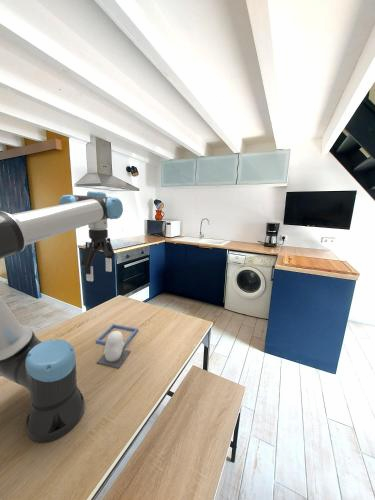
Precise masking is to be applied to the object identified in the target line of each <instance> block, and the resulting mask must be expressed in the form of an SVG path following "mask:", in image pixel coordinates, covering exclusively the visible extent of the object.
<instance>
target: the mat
mask: <svg viewBox="0 0 375 500" xmlns="http://www.w3.org/2000/svg"><path fill="white" fill-rule="evenodd" d="M130 353H131V350H127V349H122V353H121V356H120V358H119V359H118V360H116V361H112V362H110V361H107V360H106V358H105V352H104V354H103V355H102V356H101V357H100V358H99V359H98V360H97V361H96V364H98V365H101V366H105V367H111V368H115V369H120V368H121V366H122V364H123V363H124V362H125V361H126V359H127V358H128V356H129V355H130Z"/></svg>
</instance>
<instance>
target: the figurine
mask: <svg viewBox="0 0 375 500" xmlns="http://www.w3.org/2000/svg"><path fill="white" fill-rule="evenodd" d="M123 340H124V335H123V332H122V331H119V330H113V331H112V332H111V333H109V334H108V336H107V338H106V340H105V341H106V345H104V353H105V358H106V360H107V361H110V362H112V361H116V360H118V359H119V358H120V356H121V353H122V349H123V347H124V343H125V342H124V341H123Z"/></svg>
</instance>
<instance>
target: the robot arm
mask: <svg viewBox="0 0 375 500" xmlns="http://www.w3.org/2000/svg"><path fill="white" fill-rule="evenodd" d="M123 212H124V208H123V202H122V201H121V200H120V198H119V197H113V196H107V194H106V192H103V191H93V190H92V191H87V192H86V195H80V194H79V195H77V194H64V195H61V197H60V198H59V201H58V204H57V205H52V206H47V207H43V208H37V209H32V210H26V211H22V212H16V213H12V214H11V213H8V212H7V211H0V260H2V259H4V258H8V257H10V256H12V255H13V256H14V255H16V254H18V253H21V252H23V251H24V250H25V248H26V246H29V245H31V244H34V243H36V242H40V241H43V240H46V239H50V238H52V237H56V236H58V235H61V234H64V233H66V232H70V231H72V230H73V231H74V230H76V229H79V228H83V227H86V226H88V238H89V239H90V241H86V242H85V248H84V252H83V255H82V260H81V263H80V265H81V267H84V268H85V277H86V278H85V279H86V281H88V282H94V267H93V262H94V260H95V257H96V256H97V253H99V251H102V252H103V254H104V255H105V272H109V273H111V272H112V270H113V269H112V265H113V263H112V260H113V259H114V257H115V252H114V249H113V246H112V243H111V238H110V237H109V233H108V219H109V220H117V219H119V218H121V216H122V215H123ZM76 358H77V356H76V354H75V349H74V346H73V345H72V343H70V342H69V341H67V340H64V339H59V338H58V339H57V338H56V339H54V340H53V339H47V340H44V341H41V340H40V339H39V338H38V337H37V336H36V334H35V332H34V331H33V330H32V328H31V327H30V326H27V325H22V324H21V323H20V322H19V320H18V319H17V318H16V316H15V314H14V313H13V312H12V311H11V309H10V307H9V306H8V304H7V303H6V302H5V300H4V299H3V297H2V296H1V295H0V377H3V378H4V379H7V380H8V381H11V382H13V383H16V384H18V385H20V386H22V387H24V388H25V389H27V390H28V392H29V396H30V402H31V404H30V408H29V412H28V415H27V418H26V423H25V427H26V428H25V429H26V432H27V436H28V438H29V439H30V440H32V441H33V442H36V443H47V442H52V441H54V440H58V439H60V438H61V437H63V436H65V435H66V434H67V433H69V432H70V431H71V430H73V428H74V427H75V426H76V425H77V424H78V423H79V422H80V420H81V419H82V417H83V414H84V412H85V398H84V395H83V393H82V391H81V390H80V389H79V387H78V383H77V363H76Z"/></svg>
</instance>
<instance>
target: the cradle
mask: <svg viewBox="0 0 375 500" xmlns="http://www.w3.org/2000/svg"><path fill="white" fill-rule="evenodd" d="M114 329H118V330H123V331H127V332H128V331H129V332H132V333H131V334H130V335H129V336H128V338H127V339H126V340H125V342H124V347H123V349H124V350H126V347H127V346H128V345H129V343H130V342H131V341H132V339H134V337H135V336H136V335H137V333H138V332H139V328H136V327H131V326H125V325H120V324H116V323H114V324H113V323H112V324H111V325H110V326H109V327H108V328H107V329H106V330H105V331H104V332H103V333H102V334H101V335H100V336H99V337H98V338H97V339H96V340H95V344H98V345H102V346H105V345H106V341H107V340H103V339H104V338H105V337H106V336H107V335H109V334H110V332H111V331H112V330H114Z"/></svg>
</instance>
